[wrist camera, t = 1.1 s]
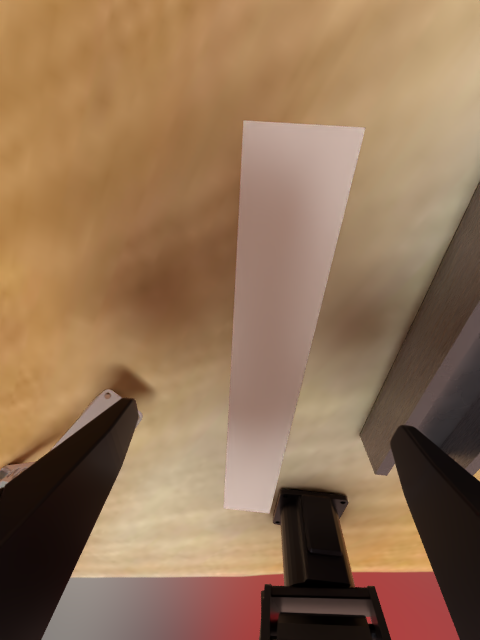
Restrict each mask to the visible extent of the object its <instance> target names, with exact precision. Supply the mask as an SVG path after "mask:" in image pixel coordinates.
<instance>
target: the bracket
mask: <svg viewBox="0 0 480 640" xmlns="http://www.w3.org/2000/svg"><path fill="white" fill-rule="evenodd" d="M107 392H108V393H110V394H109V395H108V394H107ZM120 399H121V397H120V396H118V395H117V394H116V393H115V392H113V391H112V390H110V389H108V390H104V391H103V392H102V393H101V394H99V395H98V396H97V397H96V398H95V399H94V400H93V401H92V402H91V403H90V404H89V405H88V407H87V408H86V409H85V410H84V411H83V413H82V414H81V416H80V417H79V419H78V420H77V421H76V422H75V423H74V424H73V425H72V426H71V428H70V429H69V430H68V431H67V432H66V433H65V434H64V435H63V437H62V438H61V439H60V440H59V441H58V442H57V443H56V444H55V445H54V447H53V448H52V449H54V448H55V447H56V446H58V445H59V444H60V443H62V442H63V441H64V440H66V439H67V438H69V437H70V436H71V435H73V434H74V433H75V432H77V431H78V430H79V429H81V428H82V427H83V426H85V425H86V424H87V423H89V422H90V421H91V420H93V419H94V418H95V417H97V416H98V415H99V414H101V413H102V412H103V411H105V410H106V409H108V408H109V407H110V406H112V405H113V404H114V403H116V402H117V401H118V400H120ZM138 414H139V419H138V422H137V425H136V427H137V426H138V424H139V423H140V421H141V420H142V417H143V415H142V413H141V412H140V411H139V410H138ZM52 449H51V450H52ZM51 450H50V451H51ZM50 451H49V452H50ZM34 463H35V462H30V463H22V464H14V465H6V466H4V467H3V468H2V469H1V470H0V488H1V487H4V486H5V484H7V483H8V482H9V481H11V480H12V479H13V478H15V477H16V476H17V475H19V474H20V473H21V472H23V471H24V470H25V469H27V468H28V467H30V466H31V465H32V464H34ZM8 473H9V474H8Z"/></svg>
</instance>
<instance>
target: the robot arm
mask: <svg viewBox="0 0 480 640" xmlns="http://www.w3.org/2000/svg"><path fill="white" fill-rule="evenodd" d="M138 417H139V414H138V409H137V404H136V400H135V399H134V398H121V399H120V400H118V401H117V402H116V403H114V404H113V405H112V406H110V407H109V408H108V409H106V410H105V411H103V412H102V413H101V414H99V415H98V416H97V417H95V418H94V419H93V420H91V421H90V422H89V423H87V424H86V425H85V426H83V427H82V428H81V429H79V430H78V431H77V432H75V433H74V434H73V435H71V436H70V437H69V438H67V439H66V440H64V441H63V442H62V443H60V444H59V445H58V446H56V447H55V448H54V449H52V450H51V451H50V452H48V453H47V454H46V455H44V456H43V457H42V458H40V459H39V460H38V461H36V462H35V463H34V464H32V465H31V466H30V467H28V468H27V469H25V470H24V471H23V472H21V473H20V474H19V475H17V476H16V477H15V478H13V479H12V480H11V481H9V482H8V483H7V484H5V486H4V487H1V488H0V640H41V639H42V637H43V635H44V632H45V630H46V628H47V626H48V624H49V622H50V620H51V617H52V615H53V613H54V611H55V609H56V607H57V605H58V602H59V600H60V598H61V596H62V594H63V592H64V590H65V587H66V585H67V583H68V581H69V579H70V577H71V574H72V572H73V570H74V568H75V566H76V564H77V562H78V559H79V557H80V555H81V553H82V551H83V549H84V547H85V544H86V542H87V540H88V538H89V536H90V534H91V532H92V529H93V527H94V525H95V523H96V521H97V519H98V517H99V514H100V512H101V510H102V508H103V506H104V504H105V501H106V499H107V497H108V495H109V493H110V491H111V489H112V486H113V484H114V482H115V480H116V478H117V476H118V474H119V471H120V469H121V467H122V464H123V462H124V459H125V456H126V453H127V450H128V448H129V445H130V442H131V439H132V436H133V433H134V430H135V428H136V425H137V422H138ZM390 447H391V450H392V454H393V458H394V461H395V465H396V468H397V472H398V475H399V479H400V482H401V486H402V489H403V492H404V495H405V498H406V501H407V504H408V507H409V509H410V512H411V514H412V517H413V519H414V522H415V525H416V527H417V530H418V532H419V535H420V538H421V540H422V543H423V545H424V548H425V551H426V553H427V556H428V558H429V561H430V563H431V566H432V569H433V571H434V574H435V576H436V579H437V582H438V584H439V587H440V589H441V592H442V594H443V597H444V600H445V602H446V605H447V607H448V610H449V612H450V615H451V618H452V620H453V623H454V626H455V628H456V631H457V633H458V636H459V638H460V640H480V481H478V480H477V479H476V478H475V477H474V476H472V475H471V474H470V473H469V472H468V471H467V470H465V469H464V468H463V467H462V466H461V465H459V464H458V463H457V462H456V461H455V460H453V459H452V458H451V457H450V456H449V455H448V454H446V453H445V452H444V451H443V450H442V449H440V448H439V447H438V446H437V445H436V444H434V443H433V442H432V441H431V440H430V439H429V438H427V437H426V436H425V435H424V434H423V433H421V432H420V431H419V430H418V429H417V428H415V427H413V426H409V425H400V426H398V428H397V429H396V431H395V433H394V434H393V436H392V438H391V441H390ZM347 505H348V499H347V497H346V496H343V495H335V494H325V493H316V492H307V491H298V490H289V489H282V490H280V493H279V496H278V500H277V504H276V508H275V511H274V515H273V523H274V524H277V525H281V536H282V553H283V570H284V586H272V585H271V584H265V590H264V591H261V628H260V637H259V640H391V638H390V634H389V631H388V628H387V625H386V622H385V618H384V615H383V612H382V609H381V605H380V602H379V599H378V596H377V593H376V590H375V587H374V586H367V588H359V587H355V585H354V580H353V576H352V572H351V568H350V563H349V559H348V555H347V550H346V546H345V542H344V538H343V533H342V529H341V525H340V520H339V519H340V517H341V515H342V514H343V512H344V510H345V508H346V506H347ZM366 616H367V617H371V621H372V624H368V623H367V620H366Z"/></svg>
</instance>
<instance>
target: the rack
mask: <svg viewBox="0 0 480 640" xmlns="http://www.w3.org/2000/svg"><path fill="white" fill-rule="evenodd" d="M400 425H409V426H413V427H415V428H417V429H418V430H419V431H420V432H421V433H423V434H424V435H425V436H426V437H427V438H429V439H430V440H431V441H432V442H433V443H434V444H436V445H437V446H438V447H439V448H440V449H442V450H443V451H444V452H445V453H446V454H448V455H449V456H450V457H451V458H452V459H453V460H455V461H456V462H457V463H458V464H459V465H461V466H462V467H463V468H464V469H465V470H467V471H468V472H469V473H470V474H471V475H472V476H473V475H474V474H475V473H476V472H477V471H478V470H479V469H480V183H479V185H478V187H477V189H476V191H475V194H474V196H473V198H472V200H471V202H470V204H469V206H468V208H467V210H466V213H465V215H464V217H463V219H462V221H461V223H460V225H459V227H458V229H457V231H456V234H455V236H454V238H453V240H452V242H451V244H450V246H449V248H448V250H447V252H446V255H445V257H444V259H443V261H442V263H441V265H440V267H439V269H438V271H437V274H436V276H435V278H434V280H433V282H432V284H431V286H430V288H429V290H428V292H427V295H426V297H425V299H424V301H423V303H422V305H421V307H420V309H419V311H418V313H417V316H416V318H415V320H414V322H413V324H412V326H411V328H410V330H409V332H408V335H407V337H406V339H405V341H404V343H403V345H402V347H401V349H400V351H399V353H398V356H397V358H396V360H395V362H394V364H393V366H392V368H391V370H390V372H389V374H388V377H387V379H386V381H385V383H384V385H383V387H382V389H381V391H380V393H379V396H378V398H377V400H376V402H375V404H374V406H373V408H372V410H371V412H370V414H369V417H368V419H367V421H366V423H365V425H364V427H363V429H362V431H361V433H360V437H361V439H362V442H363V445H364V447H365V450H366V452H367V455H368V457H369V460H370V462H371V465H372V468H373V470H374V473H375V474H377V475H386V476H387V475H388V473H389V472H390V470H391V469H392V467H393V466H394V464H395V461H394V458H393V454H392V450H391V447H390V441H391V438H392V436H393V434H394V433H395V431H396V429H397V428H398V426H400Z"/></svg>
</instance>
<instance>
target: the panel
mask: <svg viewBox="0 0 480 640" xmlns="http://www.w3.org/2000/svg"><path fill="white" fill-rule="evenodd" d="M364 132H365V127H348V126H331V125H313V124H296V123H279V122H262V121H245V120H244V121H243V141H242V160H241V180H240V200H239V219H238V239H237V258H236V278H235V297H234V317H233V337H232V356H231V376H230V395H229V415H228V435H227V454H226V474H225V493H224V508H225V509H234V510H243V511H252V512H261V513H269V514H270V510H271V506H272V502H273V497H274V493H275V489H276V485H277V481H278V477H279V473H280V469H281V465H282V461H283V457H284V453H285V449H286V445H287V441H288V437H289V433H290V429H291V425H292V421H293V417H294V413H295V409H296V405H297V401H298V397H299V393H300V389H301V385H302V381H303V377H304V373H305V369H306V365H307V361H308V357H309V353H310V349H311V345H312V341H313V337H314V333H315V329H316V325H317V321H318V317H319V313H320V309H321V305H322V301H323V297H324V292H325V288H326V284H327V280H328V276H329V272H330V268H331V264H332V260H333V256H334V252H335V248H336V244H337V240H338V236H339V232H340V228H341V224H342V220H343V216H344V212H345V208H346V204H347V200H348V196H349V192H350V188H351V184H352V180H353V176H354V172H355V168H356V164H357V160H358V156H359V152H360V148H361V144H362V140H363V136H364Z"/></svg>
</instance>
